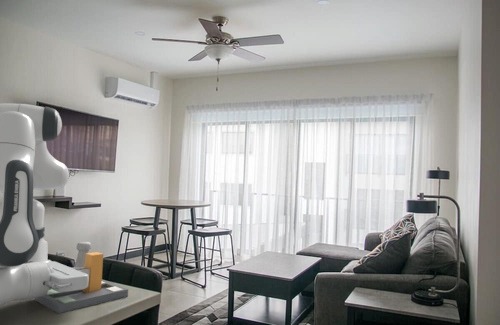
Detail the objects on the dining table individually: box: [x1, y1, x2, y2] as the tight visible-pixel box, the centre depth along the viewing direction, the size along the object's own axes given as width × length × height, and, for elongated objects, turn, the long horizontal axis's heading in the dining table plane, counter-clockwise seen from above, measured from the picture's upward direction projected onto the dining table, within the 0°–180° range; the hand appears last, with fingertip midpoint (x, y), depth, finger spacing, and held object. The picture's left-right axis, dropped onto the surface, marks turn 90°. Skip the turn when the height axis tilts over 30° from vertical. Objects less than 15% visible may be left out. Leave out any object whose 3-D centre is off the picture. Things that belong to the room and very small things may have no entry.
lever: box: [83, 251, 104, 293], centre depth 110 cm, size 4×4×11 cm
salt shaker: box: [73, 241, 92, 268], centre depth 122 cm, size 6×6×13 cm
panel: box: [33, 279, 129, 314], centre depth 107 cm, size 14×20×2 cm
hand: (87, 271), depth 108 cm, fingers closed, pressing on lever
